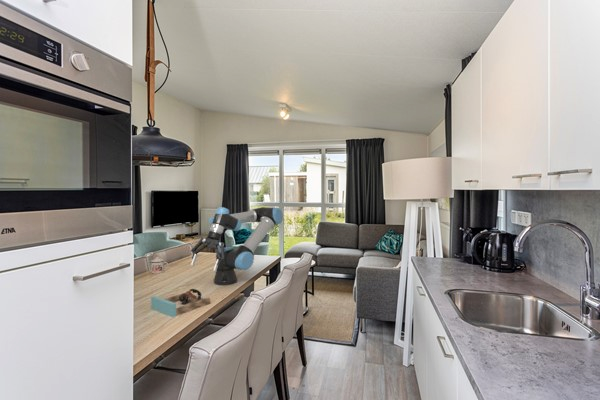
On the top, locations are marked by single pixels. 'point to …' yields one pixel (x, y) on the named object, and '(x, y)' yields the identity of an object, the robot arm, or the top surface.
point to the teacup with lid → (157, 265)
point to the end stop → (163, 306)
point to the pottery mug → (185, 296)
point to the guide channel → (189, 306)
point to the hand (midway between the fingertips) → (203, 268)
